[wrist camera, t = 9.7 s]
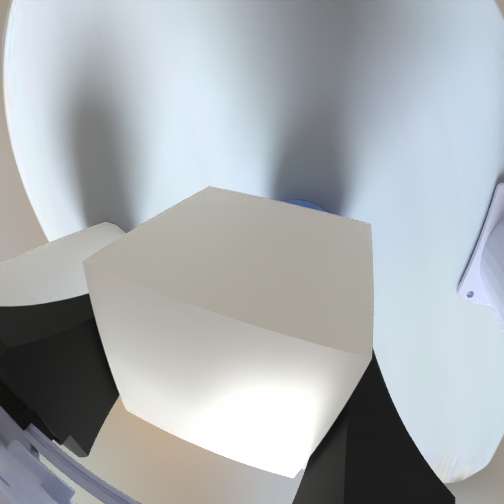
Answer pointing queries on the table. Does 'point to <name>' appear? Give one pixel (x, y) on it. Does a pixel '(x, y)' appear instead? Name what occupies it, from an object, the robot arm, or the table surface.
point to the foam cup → (53, 267)
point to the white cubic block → (238, 322)
